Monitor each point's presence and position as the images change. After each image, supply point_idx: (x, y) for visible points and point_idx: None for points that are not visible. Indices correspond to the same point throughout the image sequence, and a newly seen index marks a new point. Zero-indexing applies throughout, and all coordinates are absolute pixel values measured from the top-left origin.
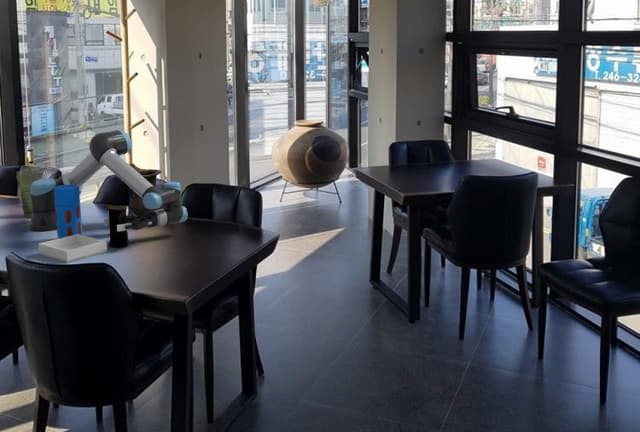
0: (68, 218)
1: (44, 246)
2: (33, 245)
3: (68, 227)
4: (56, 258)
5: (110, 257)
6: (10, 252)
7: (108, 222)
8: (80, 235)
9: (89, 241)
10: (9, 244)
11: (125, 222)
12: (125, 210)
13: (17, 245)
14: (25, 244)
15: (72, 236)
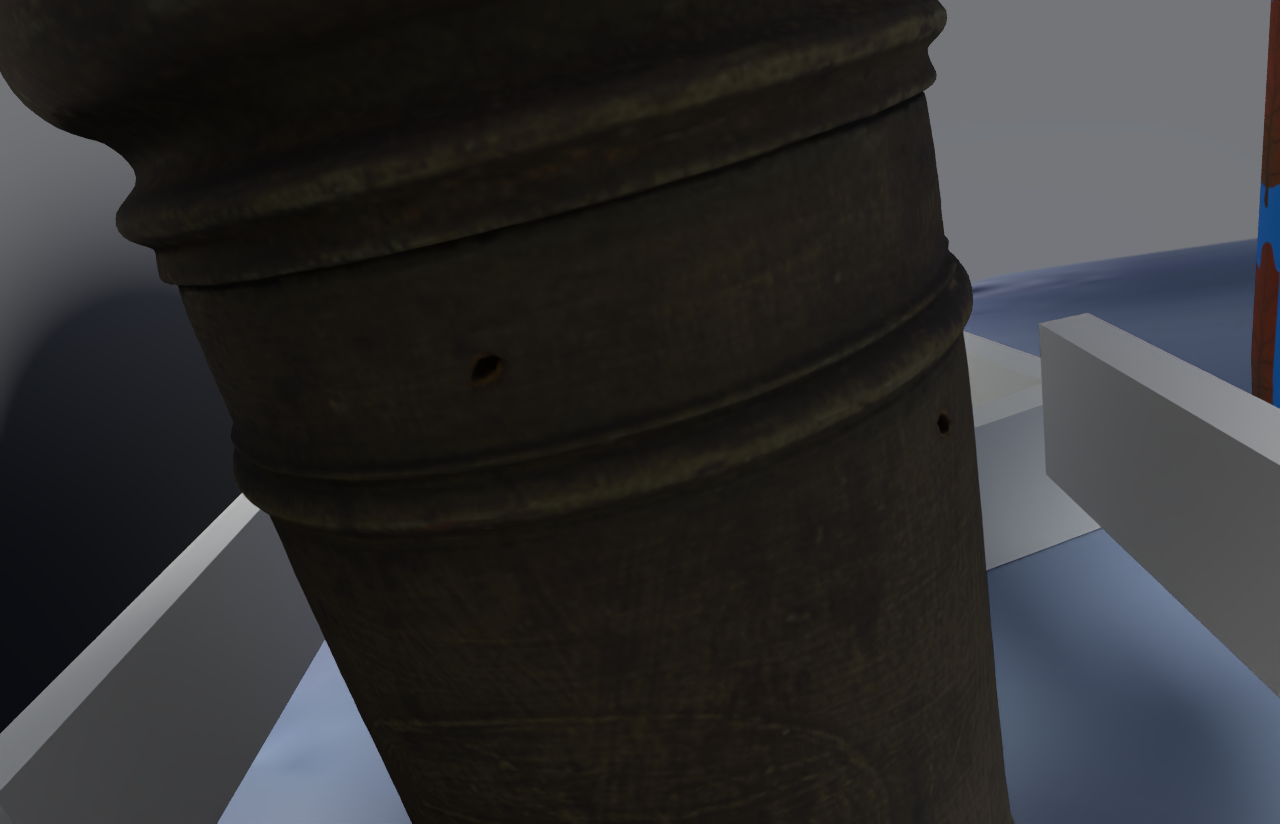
0: (1271, 113)
1: None
2: (1172, 316)
3: (1260, 254)
4: None
5: (272, 744)
6: (977, 286)
7: (1091, 450)
8: (1005, 403)
9: None
10: (1237, 249)
11: (346, 680)
12: (148, 163)
13: (1192, 272)
14: (1223, 288)
15: (995, 366)
